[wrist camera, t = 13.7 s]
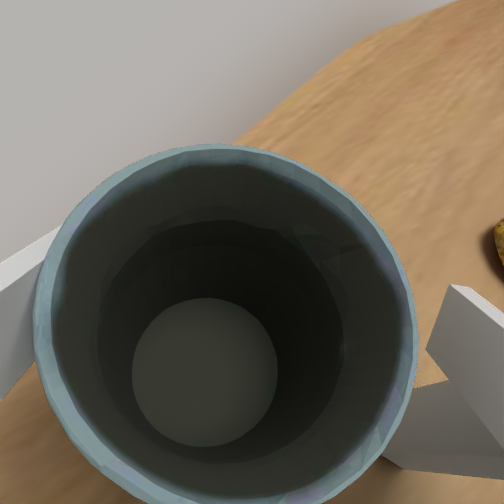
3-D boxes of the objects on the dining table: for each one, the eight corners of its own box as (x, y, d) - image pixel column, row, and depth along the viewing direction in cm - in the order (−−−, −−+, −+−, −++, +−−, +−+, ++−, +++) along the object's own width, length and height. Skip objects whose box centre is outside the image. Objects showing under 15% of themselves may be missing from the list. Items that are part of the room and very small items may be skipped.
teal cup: (97, 292, 22) (24, 153, 11) (274, 264, 24) (353, 129, 14) (117, 505, 18) (39, 603, 7) (323, 446, 21) (486, 455, 10)
